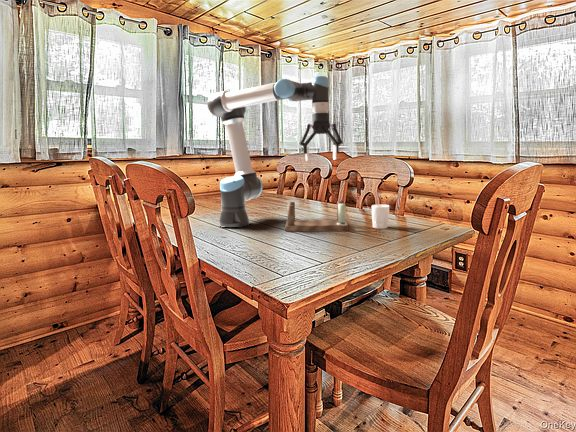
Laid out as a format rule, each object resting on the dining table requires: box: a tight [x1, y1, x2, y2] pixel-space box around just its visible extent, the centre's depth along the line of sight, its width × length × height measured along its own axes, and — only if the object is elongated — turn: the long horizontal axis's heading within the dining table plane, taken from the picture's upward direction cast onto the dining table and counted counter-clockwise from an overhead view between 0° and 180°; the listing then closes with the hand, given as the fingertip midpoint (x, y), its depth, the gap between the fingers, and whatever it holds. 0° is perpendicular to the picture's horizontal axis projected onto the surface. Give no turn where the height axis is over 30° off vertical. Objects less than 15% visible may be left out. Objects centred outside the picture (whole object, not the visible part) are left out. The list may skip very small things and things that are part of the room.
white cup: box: [371, 203, 390, 230], centre depth 173 cm, size 8×8×10 cm
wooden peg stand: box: [284, 200, 349, 233], centre depth 175 cm, size 28×13×12 cm, turn 87°
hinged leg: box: [338, 203, 347, 224], centre depth 173 cm, size 9×3×9 cm, turn 176°
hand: (321, 160), depth 175 cm, fingers open, 13 cm apart
